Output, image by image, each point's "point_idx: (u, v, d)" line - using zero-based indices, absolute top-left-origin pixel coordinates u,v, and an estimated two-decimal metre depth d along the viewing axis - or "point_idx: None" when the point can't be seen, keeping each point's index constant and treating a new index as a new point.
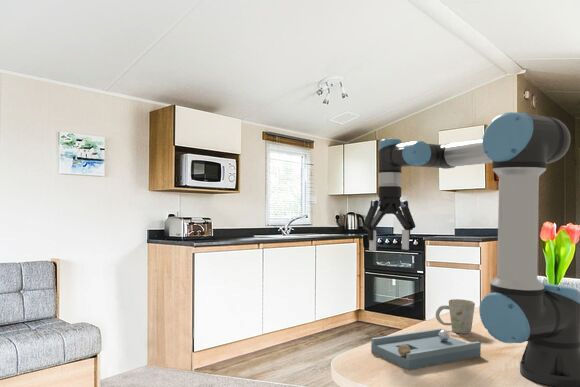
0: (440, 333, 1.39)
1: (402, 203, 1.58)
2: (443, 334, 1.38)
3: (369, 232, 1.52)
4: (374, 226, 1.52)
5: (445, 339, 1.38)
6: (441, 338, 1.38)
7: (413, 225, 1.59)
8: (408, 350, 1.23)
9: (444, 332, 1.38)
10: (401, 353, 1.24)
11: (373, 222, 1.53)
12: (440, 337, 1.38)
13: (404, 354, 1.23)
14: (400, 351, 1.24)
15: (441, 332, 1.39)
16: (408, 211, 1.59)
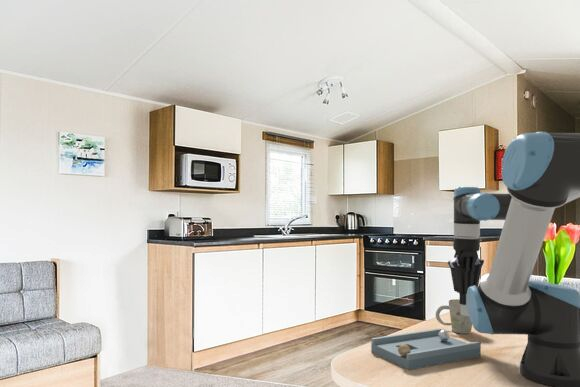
0: (440, 333, 1.39)
1: (478, 260, 1.45)
2: (443, 334, 1.38)
3: (461, 296, 1.43)
4: (466, 289, 1.42)
5: (445, 339, 1.38)
6: (441, 338, 1.38)
7: None
8: (408, 350, 1.23)
9: (444, 332, 1.38)
10: (401, 353, 1.24)
11: (462, 285, 1.43)
12: (440, 337, 1.38)
13: (404, 354, 1.23)
14: (400, 351, 1.24)
15: (441, 332, 1.39)
16: (479, 271, 1.45)
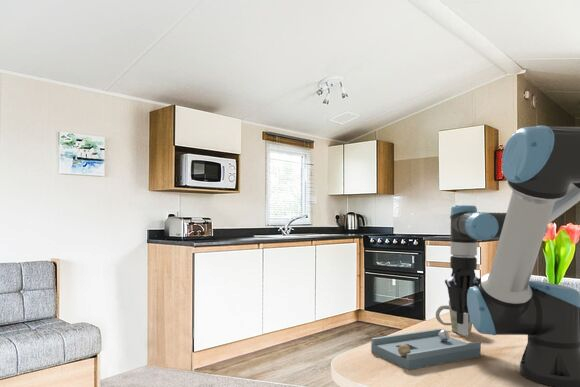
0: (440, 333, 1.39)
1: (475, 278, 1.45)
2: (443, 334, 1.38)
3: (459, 315, 1.42)
4: (463, 308, 1.41)
5: (445, 339, 1.38)
6: (441, 338, 1.38)
7: None
8: (408, 350, 1.23)
9: (444, 332, 1.38)
10: (401, 353, 1.24)
11: (459, 304, 1.42)
12: (440, 337, 1.38)
13: (404, 354, 1.23)
14: (400, 351, 1.24)
15: (441, 332, 1.39)
16: None
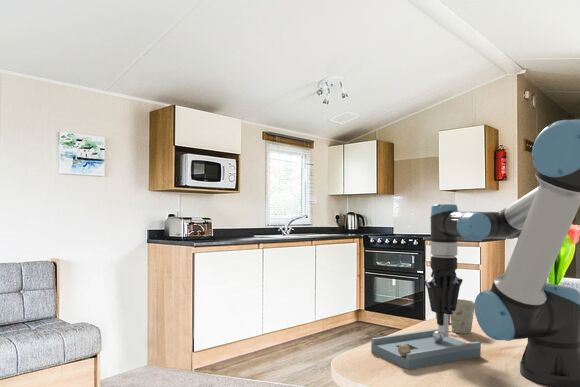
0: (435, 340, 1.38)
1: (456, 279, 1.41)
2: (437, 340, 1.37)
3: (439, 316, 1.39)
4: (443, 309, 1.38)
5: (442, 340, 1.37)
6: (439, 341, 1.38)
7: (454, 308, 1.40)
8: (408, 350, 1.23)
9: (436, 337, 1.37)
10: (401, 353, 1.24)
11: (439, 305, 1.38)
12: (438, 341, 1.38)
13: (404, 354, 1.23)
14: (400, 351, 1.24)
15: (434, 339, 1.38)
16: (457, 290, 1.40)
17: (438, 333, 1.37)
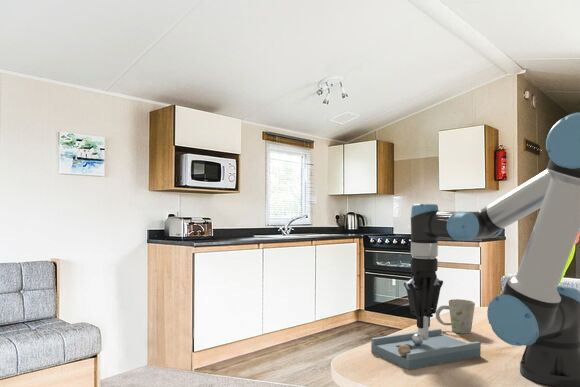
0: (417, 334, 1.35)
1: (436, 280, 1.38)
2: (420, 335, 1.34)
3: (419, 319, 1.35)
4: (423, 311, 1.35)
5: (418, 340, 1.33)
6: (415, 337, 1.34)
7: (434, 310, 1.36)
8: (408, 350, 1.23)
9: (421, 336, 1.35)
10: (401, 353, 1.24)
11: (419, 307, 1.35)
12: (415, 336, 1.34)
13: (404, 354, 1.23)
14: (400, 351, 1.24)
15: (418, 334, 1.35)
16: (438, 292, 1.37)
17: None
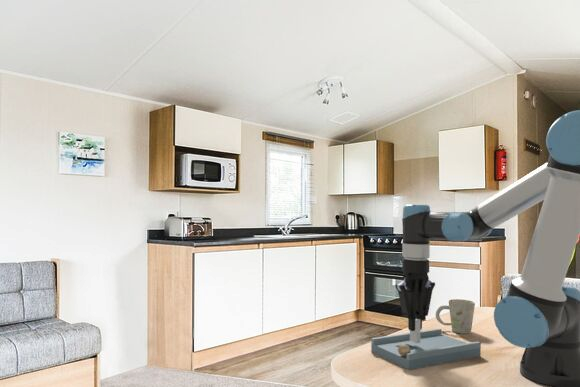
0: None
1: (428, 282, 1.36)
2: None
3: (410, 321, 1.33)
4: (414, 314, 1.33)
5: None
6: None
7: (426, 312, 1.35)
8: (408, 350, 1.23)
9: None
10: (401, 353, 1.24)
11: (411, 309, 1.33)
12: None
13: (404, 354, 1.23)
14: (400, 351, 1.24)
15: None
16: (430, 294, 1.35)
17: None
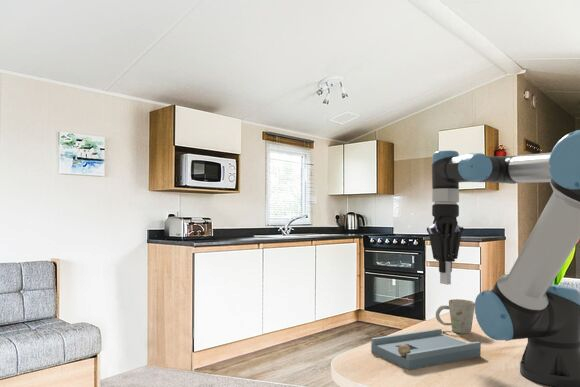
0: None
1: (457, 227, 1.41)
2: None
3: (441, 263, 1.38)
4: (445, 256, 1.37)
5: None
6: None
7: (455, 255, 1.39)
8: (408, 350, 1.23)
9: None
10: (401, 353, 1.24)
11: None
12: None
13: (404, 354, 1.23)
14: (400, 351, 1.24)
15: None
16: (459, 238, 1.40)
17: None
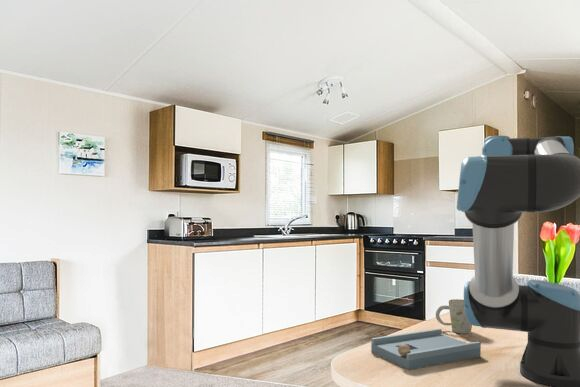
0: None
1: None
2: None
3: None
4: None
5: None
6: None
7: None
8: (408, 350, 1.23)
9: None
10: (401, 353, 1.24)
11: None
12: None
13: (404, 354, 1.23)
14: (400, 351, 1.24)
15: None
16: None
17: None
